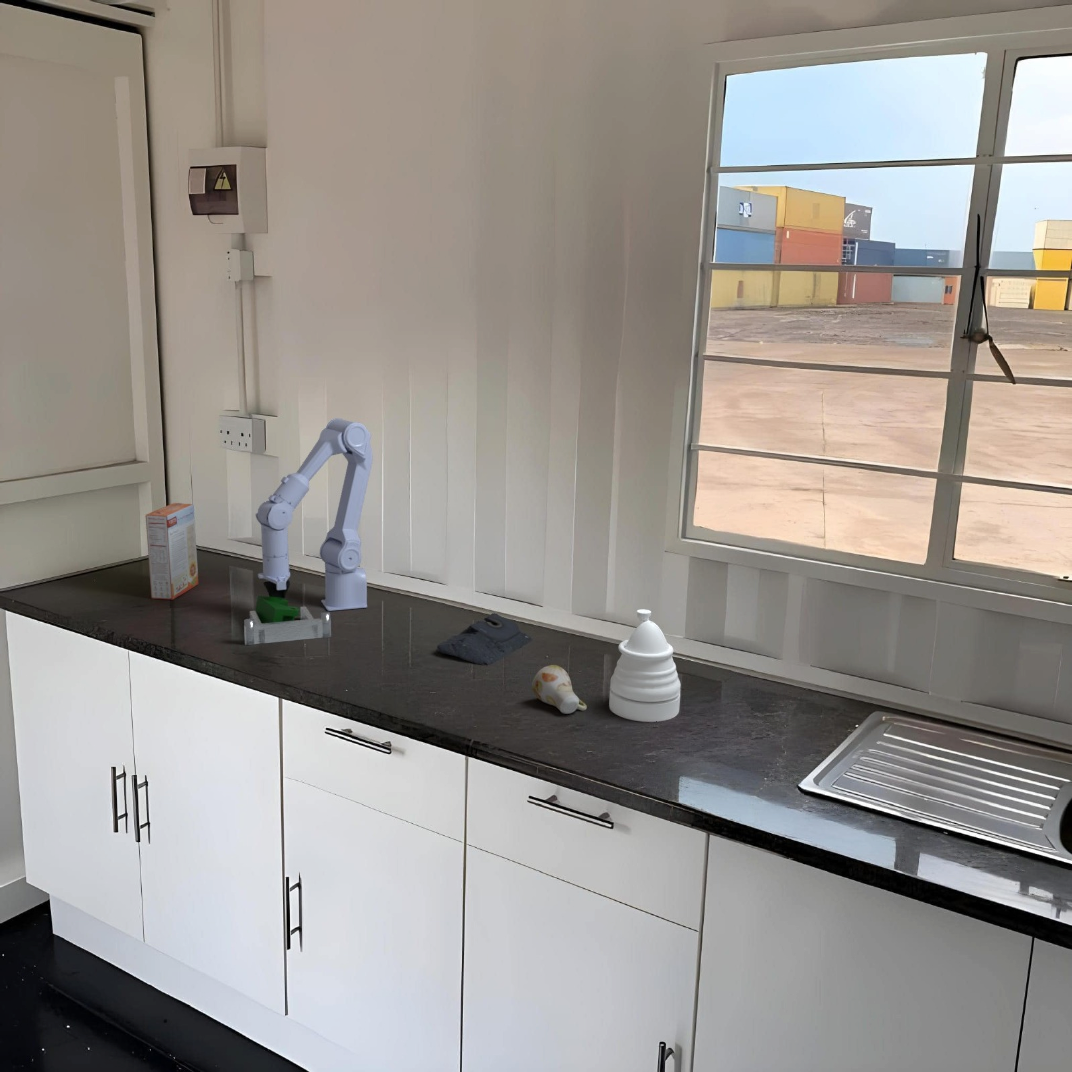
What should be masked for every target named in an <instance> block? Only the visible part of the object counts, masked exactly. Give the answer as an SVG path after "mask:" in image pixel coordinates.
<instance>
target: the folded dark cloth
mask: <svg viewBox="0 0 1072 1072" xmlns="http://www.w3.org/2000/svg"><path fill="white" fill-rule="evenodd" d="M483 620H484V621H483ZM483 620H478V621H476V622H475V623H472V624H470V625H469V626H468V627H467V628H465V629H463V630H462V631H461V632H460V633H459V634H457V635H453V636H452V637H450V638H448V639H446V640H445V641H442V642H440V643H439V644H437V645H436V649H437V651H438V652H439V653H441V654H445V655H449V656H453V657H458V658H460V659H462V660H464V661H467V662H470V663H473V664H476V665H482V664H484V665H487V666H489V665H490V666H491V665H492V664H494V662H495V663H496V662H498V660H499V661H500V660H501V659H503V658H505V657H506V656H509V655H511V654H512V653H513V652H515V651H517V650H519V649H520V648H522V647H523V646H526V645H527V644H529V643H531V642H532V641H533V638H532V637H531V636H529V635H527V633H526V632H522V631H521V629H519V626H518V624H517V623H516V621H513V620H511V619H509V618H506V617H503V616H502V615H500V614H498V613H496V612H494V613H491V614H490V615H488V616H487V617H484V619H483Z"/></svg>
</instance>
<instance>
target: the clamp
mask: <svg viewBox="0 0 1072 1072" xmlns="http://www.w3.org/2000/svg"><path fill="white" fill-rule="evenodd" d="M254 611H256V613H257V615H258V617H259V620H260V622H261V624H263V623H274V622H285V621H295V618H296V617H299V614H300V609H299V607H297V606H290V605H289V601H288V600H287V599H286V598H285V599H283V598H279V597H269V596H268V595H267V596H265V595H264V596H263V595H257V600H256V604H255V609H254Z"/></svg>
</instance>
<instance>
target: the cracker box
mask: <svg viewBox="0 0 1072 1072" xmlns="http://www.w3.org/2000/svg"><path fill="white" fill-rule="evenodd" d="M195 518H196V517H195V504H194V503H193V504H192V503H181V502H173V503H171V504H168V505H166V506H164V507H161V508H159V509H157V510H154V511H151V512H149V513H147V514H145V528H146V541H147V554H148V567H149V568H148V569H149V570H148V571H149V579H150V580H149V581H150V582H149V583H150V597H151V599H154V600H155V599H156V600H169V601H170V600H172V601H173V600H175V599H176V598H178V597H180V596H181V595H183V594H184V593H187V592H188V591H190V590H191V589H193V588H195V587H196V586H198V585H199V572H198V571H199V570H198V555H197V538H196V537H197V536H196V522H195V521H196V519H195Z"/></svg>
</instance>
